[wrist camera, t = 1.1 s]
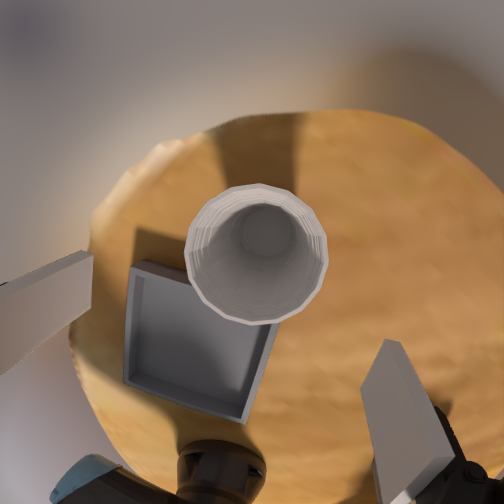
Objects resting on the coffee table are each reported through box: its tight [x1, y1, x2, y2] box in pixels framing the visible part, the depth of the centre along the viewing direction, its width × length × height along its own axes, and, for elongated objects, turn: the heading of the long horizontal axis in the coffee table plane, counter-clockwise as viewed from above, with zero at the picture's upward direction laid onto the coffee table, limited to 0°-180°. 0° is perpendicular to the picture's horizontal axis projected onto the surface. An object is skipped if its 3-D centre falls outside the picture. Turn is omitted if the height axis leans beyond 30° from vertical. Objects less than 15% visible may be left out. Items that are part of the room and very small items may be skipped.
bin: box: [123, 259, 280, 424], centre depth 37 cm, size 18×18×4 cm
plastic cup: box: [184, 183, 329, 326], centre depth 29 cm, size 11×11×12 cm
